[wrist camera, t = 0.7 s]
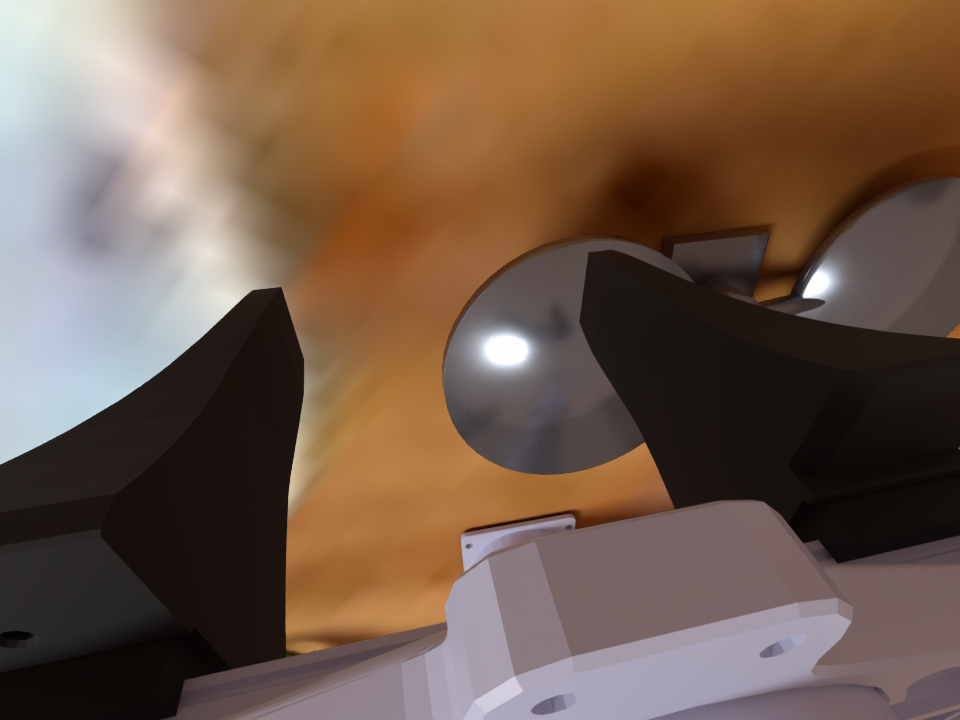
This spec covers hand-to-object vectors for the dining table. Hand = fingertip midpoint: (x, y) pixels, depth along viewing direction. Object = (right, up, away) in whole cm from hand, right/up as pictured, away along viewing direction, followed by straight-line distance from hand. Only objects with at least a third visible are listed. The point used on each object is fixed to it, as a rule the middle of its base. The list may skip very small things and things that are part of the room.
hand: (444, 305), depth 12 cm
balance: (+13, +3, +14) cm, 19 cm away
